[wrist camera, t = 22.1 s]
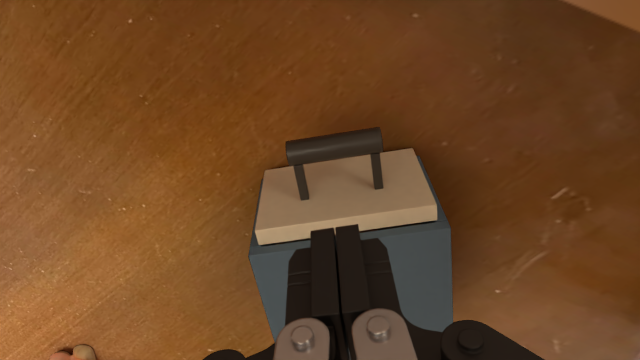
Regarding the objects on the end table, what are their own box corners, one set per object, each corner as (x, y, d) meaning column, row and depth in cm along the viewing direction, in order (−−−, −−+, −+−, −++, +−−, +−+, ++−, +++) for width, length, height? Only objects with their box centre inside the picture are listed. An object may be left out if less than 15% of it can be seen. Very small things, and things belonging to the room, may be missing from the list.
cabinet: (261, 178, 38) (247, 256, 29) (419, 154, 37) (451, 227, 28) (295, 308, 45) (292, 400, 37) (427, 291, 44) (454, 380, 36)
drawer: (251, 118, 34) (237, 171, 27) (409, 93, 33) (434, 141, 26) (296, 297, 43) (294, 370, 36) (421, 280, 42) (443, 351, 35)
